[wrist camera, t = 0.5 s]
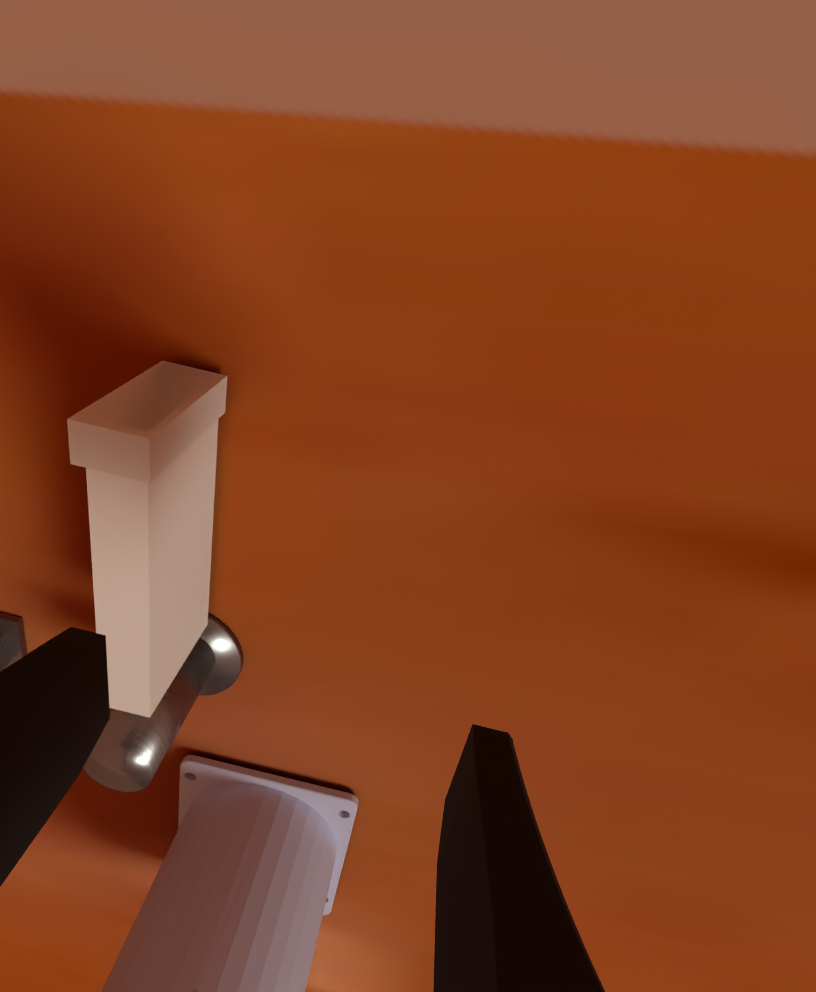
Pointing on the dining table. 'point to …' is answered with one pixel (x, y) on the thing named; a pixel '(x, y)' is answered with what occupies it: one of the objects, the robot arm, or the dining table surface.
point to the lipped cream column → (150, 522)
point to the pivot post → (164, 713)
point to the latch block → (11, 640)
